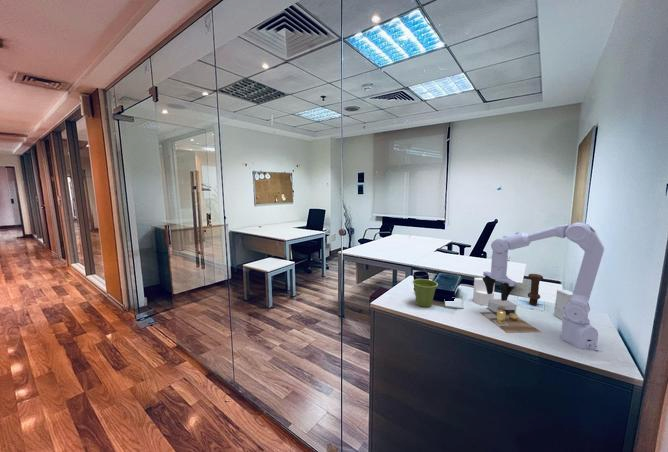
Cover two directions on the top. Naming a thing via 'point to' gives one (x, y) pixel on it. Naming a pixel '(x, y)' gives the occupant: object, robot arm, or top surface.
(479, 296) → the base with upright slab
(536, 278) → the bolt
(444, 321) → the top surface
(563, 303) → the skincare box
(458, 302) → the hard drive
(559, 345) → the top surface
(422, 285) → the plant pot
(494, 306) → the housing
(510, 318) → the board
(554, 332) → the top surface
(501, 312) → the pin
